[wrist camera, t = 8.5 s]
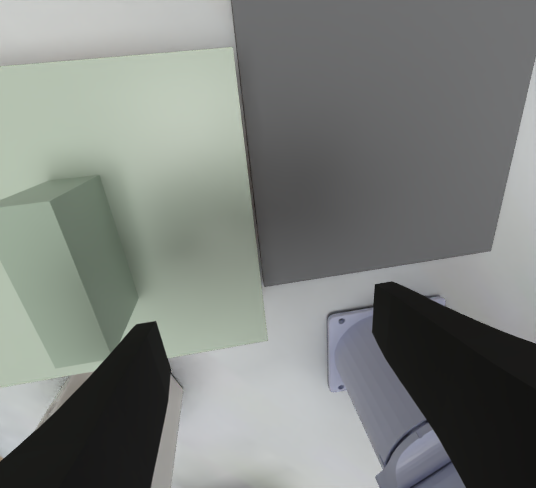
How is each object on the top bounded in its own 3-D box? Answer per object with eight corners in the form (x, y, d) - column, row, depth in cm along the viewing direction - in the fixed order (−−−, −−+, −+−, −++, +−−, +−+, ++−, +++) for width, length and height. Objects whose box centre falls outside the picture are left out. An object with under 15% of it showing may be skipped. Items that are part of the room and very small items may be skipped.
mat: (550, -43, 16) (559, -47, 16) (485, 248, 23) (490, 251, 23) (228, -23, 14) (228, -27, 14) (263, 283, 21) (264, 286, 21)
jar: (98, 326, 21) (-32, 559, 10) (200, 370, 24) (185, 588, 13) (42, 409, 23) (-115, 676, 12) (142, 440, 26) (87, 678, 15)
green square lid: (232, 49, 12) (238, 16, 8) (266, 333, 18) (281, 402, 13) (-172, 83, 11) (-429, 65, 6) (7, 378, 16) (-66, 470, 12)
